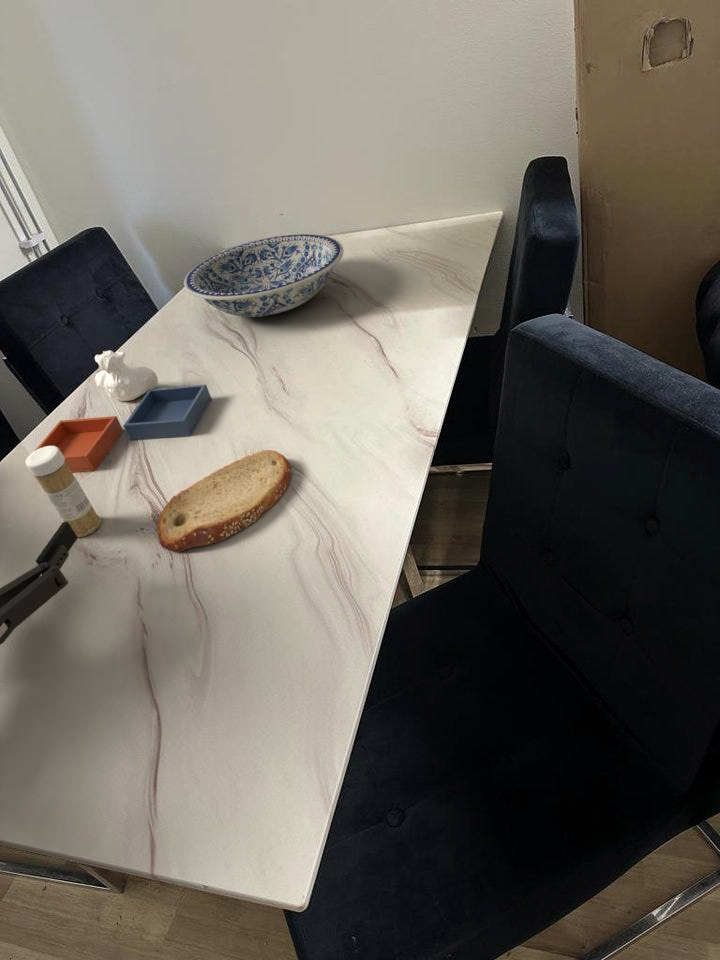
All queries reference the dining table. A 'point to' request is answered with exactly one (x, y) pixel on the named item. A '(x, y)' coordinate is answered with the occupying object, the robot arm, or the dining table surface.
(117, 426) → the terracotta tray
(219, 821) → the dining table surface
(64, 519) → the sprinkles bottle
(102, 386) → the white animal figurine
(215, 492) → the slice of bread
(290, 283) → the ceramic bowl
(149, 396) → the slate tray
